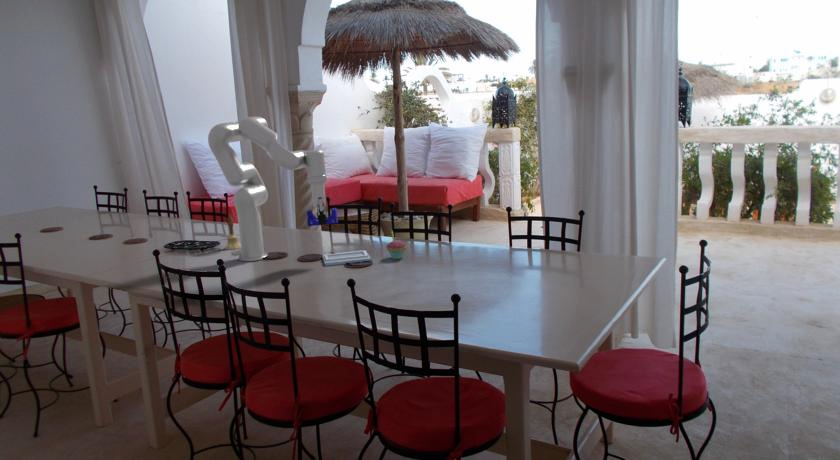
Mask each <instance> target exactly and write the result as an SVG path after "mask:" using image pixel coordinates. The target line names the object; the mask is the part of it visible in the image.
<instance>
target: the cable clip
mask: <svg viewBox="0 0 840 460" xmlns="http://www.w3.org/2000/svg"><path fill="white" fill-rule="evenodd" d="M337 210H338V209H337V207H333V208H332V209H331V214H330V215H329V217H326V224H325V225H330V224H332V225H333V224H338V223H339V220H338V211H337ZM306 215H307V216H306V217H307V218H306V222H307V227H313V226H316V227H317V226H323V225H324V224H320V225H319V222H318V217H317V216H315V214H314V213H313V210H312V209H308V210H307V211H306Z"/></svg>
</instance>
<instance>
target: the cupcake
mask: <svg viewBox="0 0 840 460" xmlns="http://www.w3.org/2000/svg"><path fill="white" fill-rule="evenodd" d="M391 237H392V241H391V242H389V243H388V244H386V250H387V251H388V253H389V255H390V257H391V259H394V260H397V259H398V260H399V259H403V257H404V252H405V251H406V250H407V244H406V243H405V242H404V241H401V240H395V236H394V231H393V230H391Z"/></svg>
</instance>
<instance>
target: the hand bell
mask: <svg viewBox="0 0 840 460" xmlns="http://www.w3.org/2000/svg"><path fill="white" fill-rule="evenodd" d="M227 225H228V229H229V236H228V237H227V243H226V245H225V246H224V249H225V250H228V251H235V250H240V249H241V242H239V239H238V236H237V235H235V232H234V219H233V217H232V215H231V214H228V215H227Z"/></svg>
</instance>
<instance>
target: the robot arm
mask: <svg viewBox="0 0 840 460" xmlns="http://www.w3.org/2000/svg"><path fill="white" fill-rule="evenodd" d="M245 140H249V141H251V142H253V143H254V144H256V145H257V146H259V147H260V148H262V149H263V150H264V151H265V152H266V154H267V156H268V157H270V158H269V159H271V160H272V161H274V162H275V163H276V164H277V165H279V166H281V167H282V168H283V169H286V170H287V171H297V170H300V169H304V168H305V169H306V171H307V181H308V182H307V183H308V185H309V186H310V187H311V195H312V196H311V197H312V205H313V208H314V209H316V211H317V212H316V218H318V222H319V225H318V226H321V225H320V224H323V225H327V224H326V219H327V216H326V212H325V208H326V206H327V205H326V200H327V199H326V189H325V187H326V186H325V184H327V182H328V181H327V171H326V164H325V163H326V161H325V153H324V152H323V150H322V149H312V150H304V149H302V150H301V149H300V150H294V151H291V150H289V149H288V148H286V147H285V146H283V145H282V144H281V143H279V134H278V133H277V132H275V131H273V130H272V129H271V128H269V125H268V122H267V120H266V119H265V118H263V117H261V116H255V115H254V116H247V117H244V118H242V119H240V120H238V121H230V122H221V123H217V124H216V125H214V126H213V127H212V128H211V129H210V131H209V133H208V135H207V143H208V146H209V149H210V151H211V153H212V155H213V156H214V157H215V159H216V161H217V164H218V165H219V168H220V170H221V172H222V174H223V176H224V178H225V179H226V182H228V184H229V185H230V186H232V187H238V186H239V187H240V186H243V187H240V188H239V189H237V190H236V191H235V193H234V195H233V204H234V207H235V210H236V216H237V223H238V231H239V240H240V244H241V248H239V249H237V250H230V255H231V256H234V257H235V256H236V257H237V256H238V260H239V261H241V262H255V261H256V262H257V261H261V260H264V259H263V258H265V257H267V256H268V257H269V254H268V253H267V252H265V250H264V249H265V248H264V247H265V246H264V240H263V239H264V238H263V230H262V229H263V228H262V222H261V214H260V211H259V210H258V207H259V206H261V205H263V204H265V203H267V201H268V199H269V192H268V189H267V186H265V185H266V184H265V183H264V181H263V179H262V177H261V175H260V173H259V170H258V169H257V167H255V165H254V164H252V163H251V162H248V161H246V162H245V161H244V162H242V161H241V160H240V159H239V156H238V155H237V153H236V151H235V150H234V149H233V148H232V147H231V146H230V144H229V143H235V142H236V143H237V142H241V141H245ZM268 257H267V258H268ZM265 259H266V258H265Z"/></svg>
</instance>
